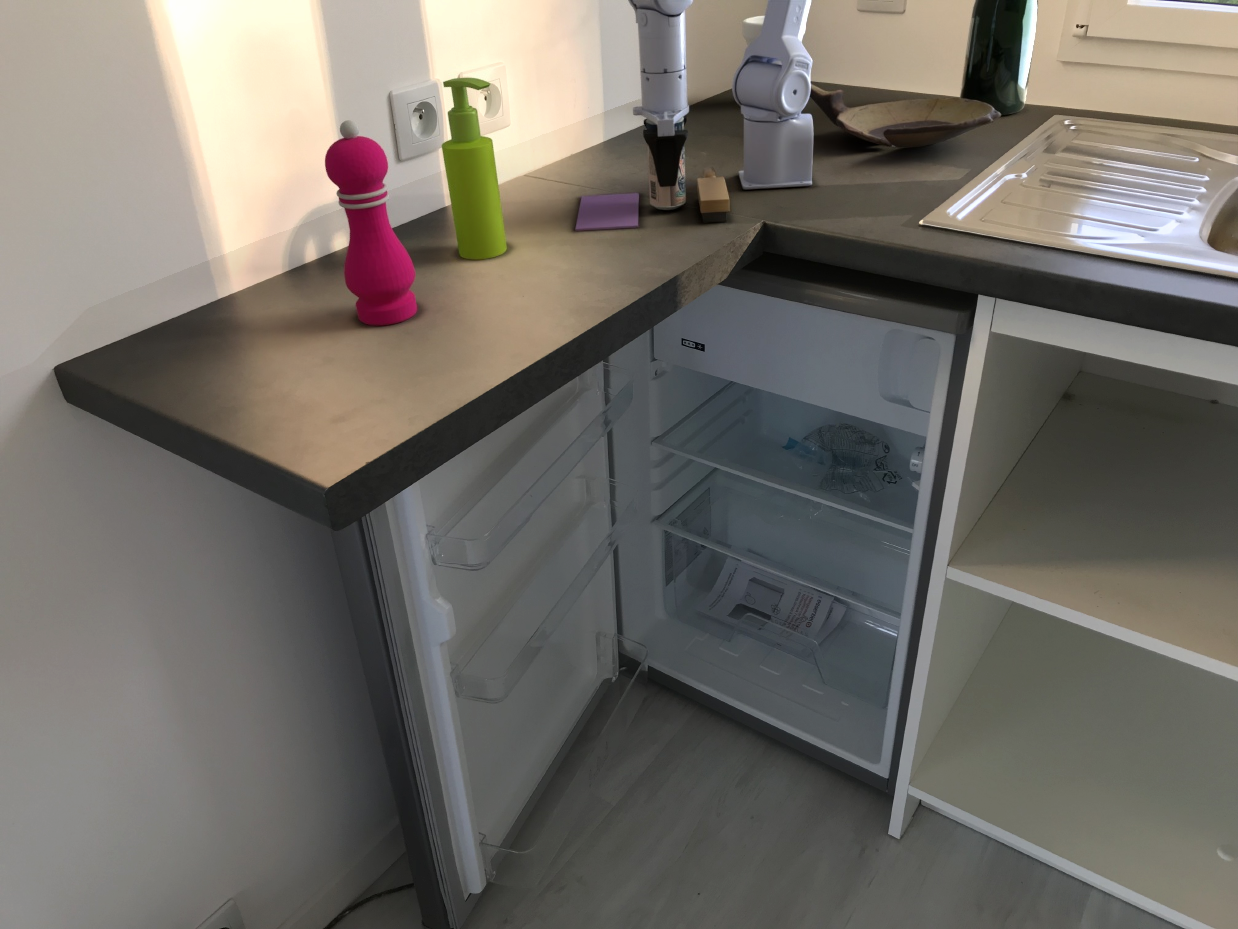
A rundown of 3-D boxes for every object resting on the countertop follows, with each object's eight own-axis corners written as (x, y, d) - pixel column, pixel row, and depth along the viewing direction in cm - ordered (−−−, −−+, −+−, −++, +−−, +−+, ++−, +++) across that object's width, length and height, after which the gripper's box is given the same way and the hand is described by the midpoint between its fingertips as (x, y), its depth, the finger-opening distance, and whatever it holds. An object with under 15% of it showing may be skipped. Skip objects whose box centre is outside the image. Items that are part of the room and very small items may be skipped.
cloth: (638, 194, 131) (638, 192, 131) (638, 227, 119) (637, 225, 119) (581, 198, 132) (581, 195, 131) (575, 230, 120) (575, 228, 120)
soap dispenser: (493, 263, 112) (468, 85, 101) (449, 255, 115) (420, 82, 104) (523, 247, 116) (501, 74, 105) (479, 240, 119) (454, 72, 108)
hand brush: (721, 186, 132) (721, 163, 130) (729, 222, 119) (729, 198, 117) (695, 187, 132) (695, 165, 131) (701, 223, 119) (700, 199, 117)
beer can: (683, 211, 122) (680, 115, 116) (647, 211, 123) (642, 116, 117) (688, 200, 126) (686, 106, 120) (653, 200, 127) (649, 107, 121)
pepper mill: (359, 304, 103) (316, 115, 93) (425, 298, 104) (389, 109, 93) (349, 331, 97) (301, 132, 87) (418, 324, 98) (380, 125, 87)
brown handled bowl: (919, 173, 131) (925, 116, 127) (780, 136, 153) (781, 86, 149) (1027, 143, 140) (1036, 89, 136) (881, 112, 162) (885, 65, 158)
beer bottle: (1011, 119, 153) (1047, -119, 135) (948, 113, 158) (975, -116, 141) (1033, 105, 159) (1070, -124, 141) (972, 101, 165) (1000, -120, 147)
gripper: (631, 60, 122) (637, 166, 129) (629, 82, 110) (636, 198, 117) (686, 57, 122) (688, 163, 129) (690, 78, 109) (692, 194, 117)
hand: (667, 179), depth 123 cm, fingers closed on beer can, 5 cm apart
